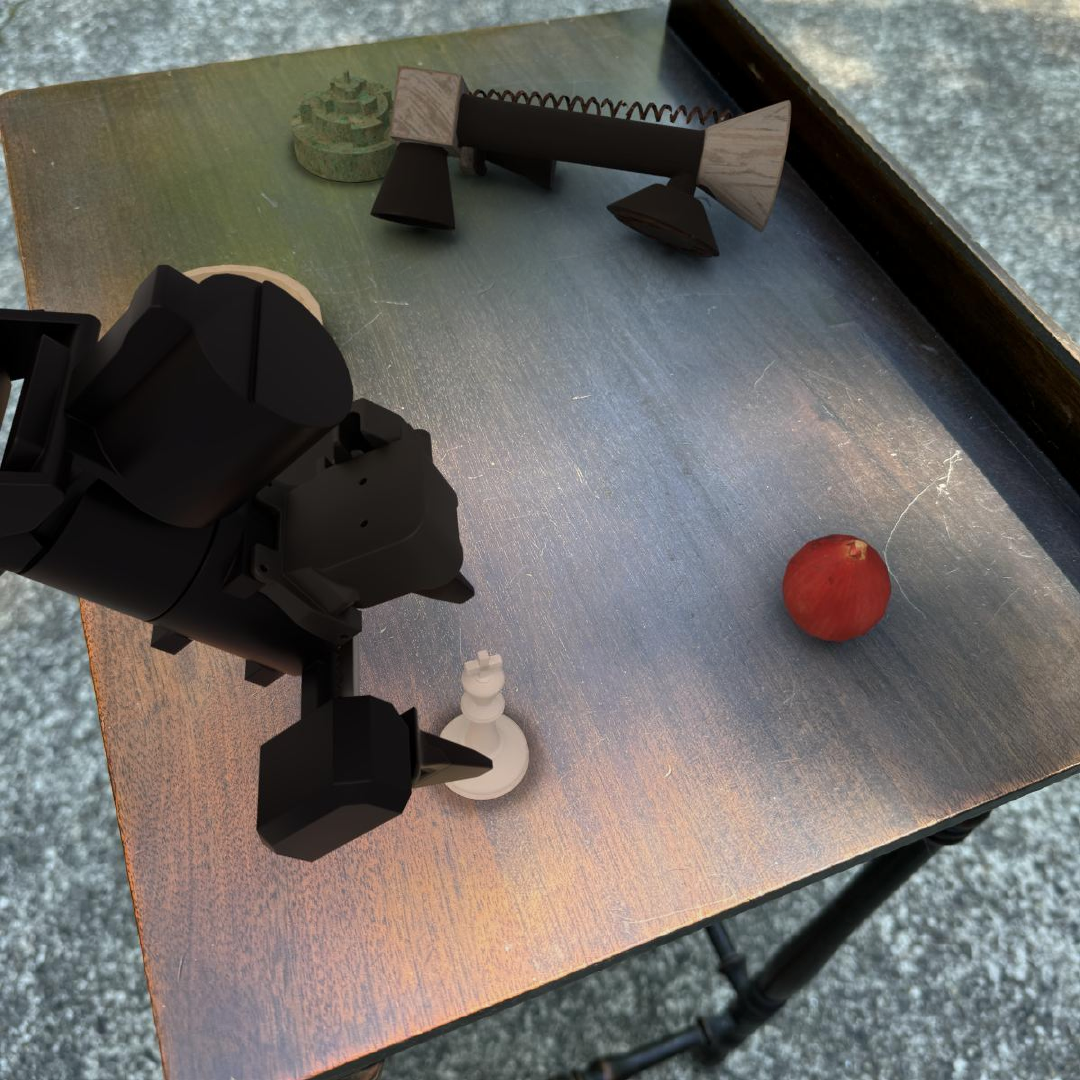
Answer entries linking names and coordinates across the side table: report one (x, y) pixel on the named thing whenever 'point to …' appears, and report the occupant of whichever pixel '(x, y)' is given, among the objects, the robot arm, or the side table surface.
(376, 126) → the decorative artifact
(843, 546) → the onion
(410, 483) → the robot arm
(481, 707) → the chess piece
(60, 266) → the side table surface
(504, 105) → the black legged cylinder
